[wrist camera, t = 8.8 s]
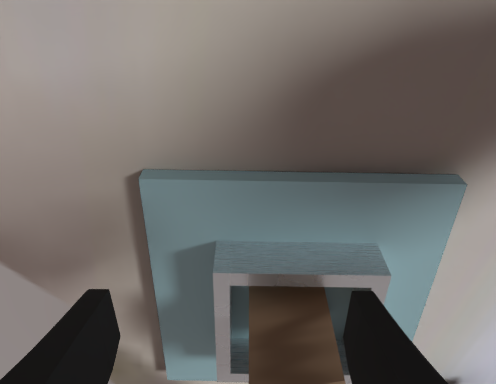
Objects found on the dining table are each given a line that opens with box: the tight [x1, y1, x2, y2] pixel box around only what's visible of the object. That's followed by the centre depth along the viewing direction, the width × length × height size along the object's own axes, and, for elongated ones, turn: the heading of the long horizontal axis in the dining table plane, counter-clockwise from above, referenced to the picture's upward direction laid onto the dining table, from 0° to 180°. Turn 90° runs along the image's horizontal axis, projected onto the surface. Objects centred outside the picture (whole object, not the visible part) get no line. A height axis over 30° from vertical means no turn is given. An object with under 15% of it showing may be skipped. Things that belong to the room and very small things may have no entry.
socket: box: [213, 241, 392, 384], centre depth 22 cm, size 9×9×2 cm
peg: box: [249, 286, 346, 384], centre depth 20 cm, size 4×4×7 cm
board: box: [139, 169, 467, 381], centre depth 24 cm, size 16×16×1 cm
